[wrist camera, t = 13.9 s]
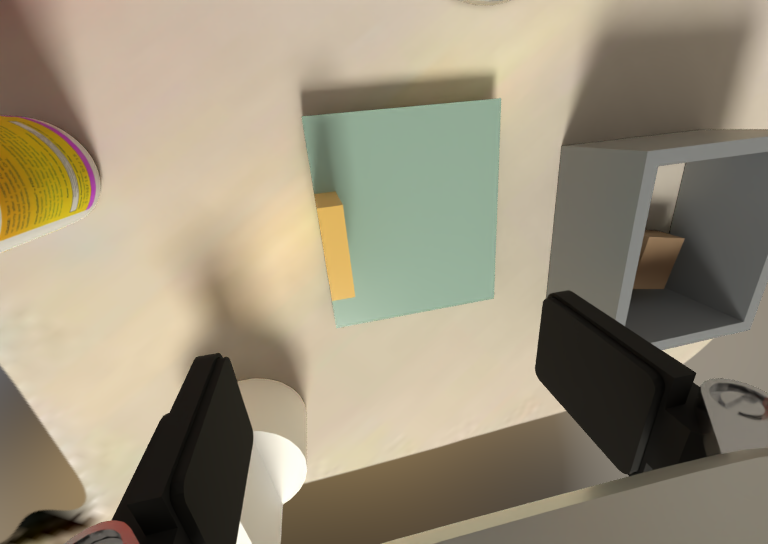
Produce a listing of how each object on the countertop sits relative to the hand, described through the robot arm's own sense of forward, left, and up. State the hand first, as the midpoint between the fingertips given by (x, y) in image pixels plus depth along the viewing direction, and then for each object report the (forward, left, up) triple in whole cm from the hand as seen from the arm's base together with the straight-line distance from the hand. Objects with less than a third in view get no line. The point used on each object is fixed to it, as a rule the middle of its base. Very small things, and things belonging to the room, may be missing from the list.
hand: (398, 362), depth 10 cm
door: (+1, +5, -19) cm, 20 cm away
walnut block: (+8, +28, -19) cm, 35 cm away
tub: (+5, +26, -19) cm, 32 cm away
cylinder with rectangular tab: (+18, -10, -19) cm, 28 cm away
